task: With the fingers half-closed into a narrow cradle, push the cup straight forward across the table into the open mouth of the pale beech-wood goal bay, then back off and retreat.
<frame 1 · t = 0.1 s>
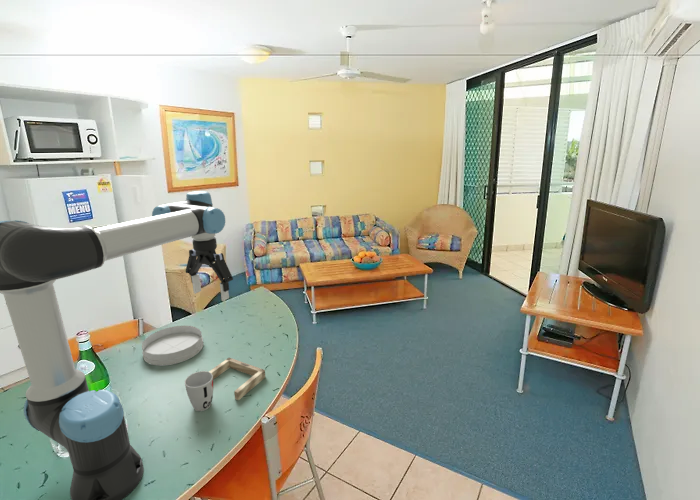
hand: (211, 295, 131), 28 cm above the table, fingers open, 13 cm apart
cup: (202, 406, 118), on the table
dish: (174, 350, 149), on the table
goal bay: (232, 382, 129), on the table
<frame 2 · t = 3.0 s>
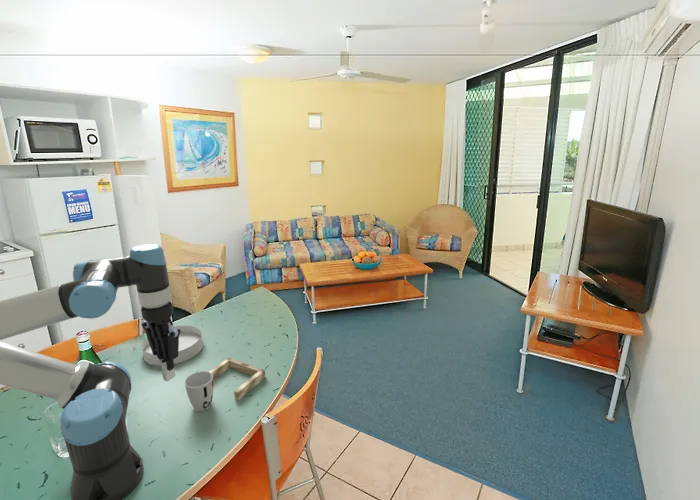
hand: (169, 378, 105), 17 cm above the table, fingers closed
nothing on the table moved.
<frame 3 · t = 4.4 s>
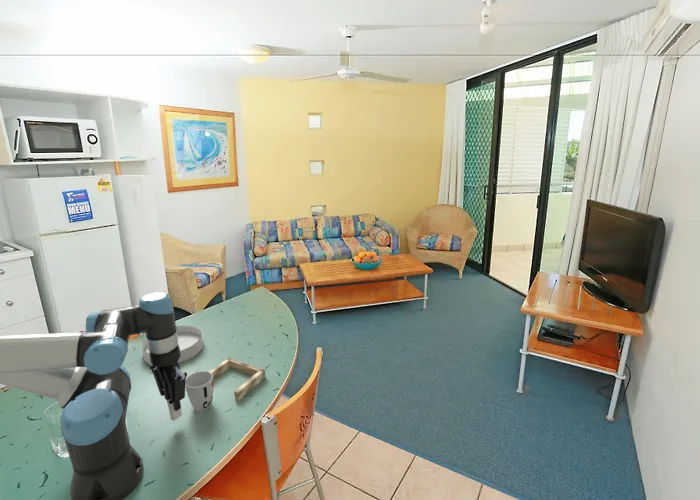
hand: (176, 417, 109), 3 cm above the table, fingers closed
nothing on the table moved.
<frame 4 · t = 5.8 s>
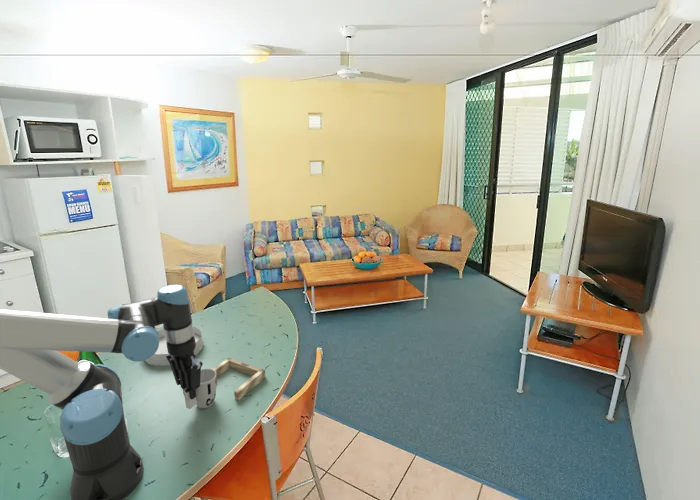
hand: (191, 405, 113), 3 cm above the table, fingers closed
cup: (205, 403, 118), on the table, touching gripper
everything else where it was.
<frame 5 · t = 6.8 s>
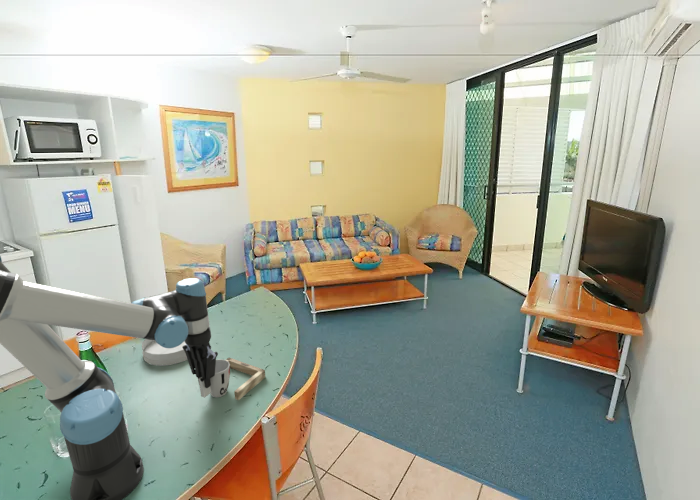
hand: (206, 394, 118), 3 cm above the table, fingers closed
cup: (218, 392, 123), on the table, touching gripper
everything else where it was.
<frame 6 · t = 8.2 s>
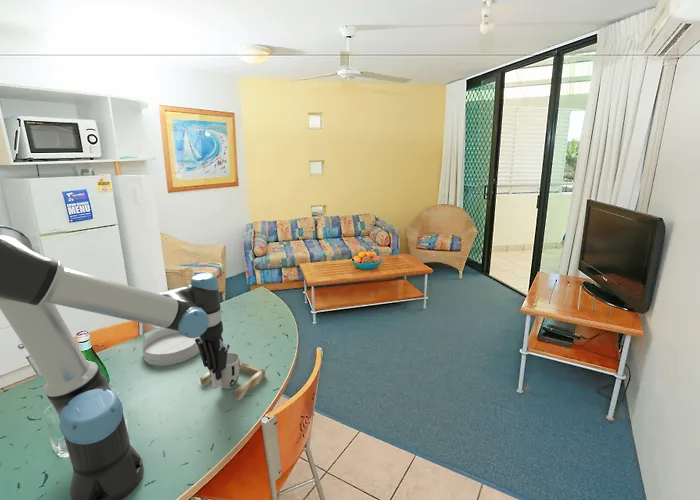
hand: (217, 386, 122), 3 cm above the table, fingers closed
cup: (228, 385, 127), on the table, touching gripper
everything else where it was.
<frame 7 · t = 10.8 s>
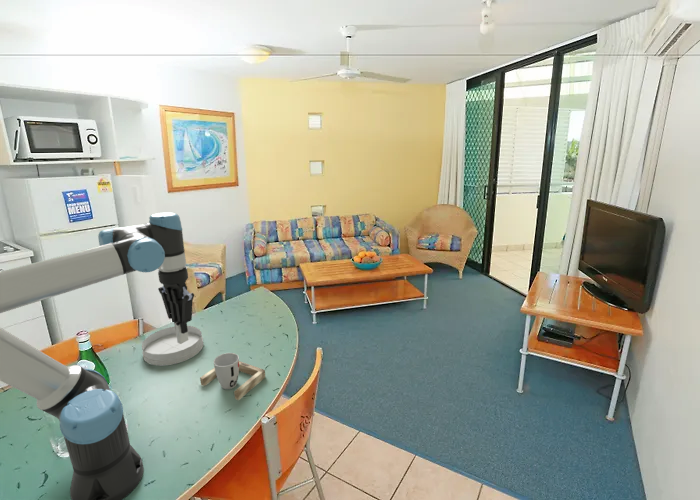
hand: (183, 341, 111), 23 cm above the table, fingers closed
cup: (229, 385, 127), on the table
everything else where it was.
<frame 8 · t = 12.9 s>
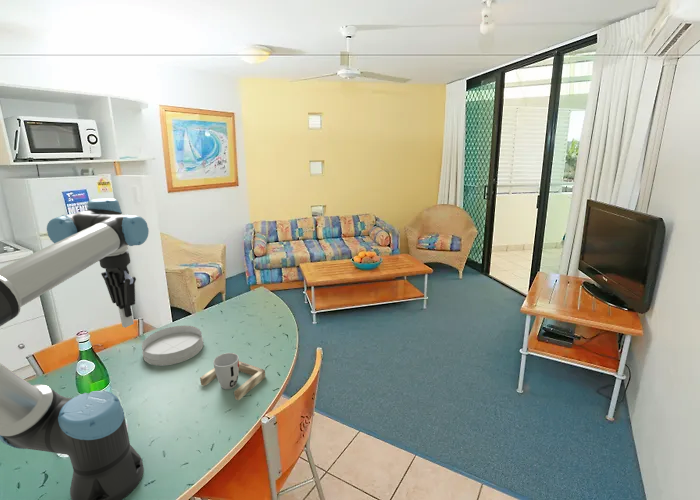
hand: (128, 325, 114), 26 cm above the table, fingers closed
nothing on the table moved.
at the end: cup inside the target area (2.0 cm from its centre), on the table; cup tilted 0°; cup moved 11.5 cm from its start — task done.
